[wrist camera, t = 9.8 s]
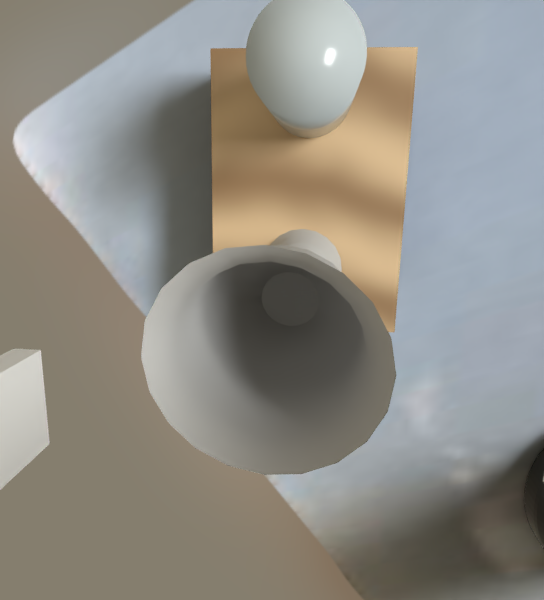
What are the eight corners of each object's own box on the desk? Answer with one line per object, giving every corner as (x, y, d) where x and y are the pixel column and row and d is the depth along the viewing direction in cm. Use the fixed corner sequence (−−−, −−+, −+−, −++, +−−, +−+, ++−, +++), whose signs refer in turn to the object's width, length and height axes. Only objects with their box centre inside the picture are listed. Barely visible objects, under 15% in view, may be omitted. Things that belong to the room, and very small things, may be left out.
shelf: (382, 309, 37) (394, 332, 32) (229, 302, 38) (213, 323, 33) (401, 70, 33) (417, 47, 28) (229, 71, 34) (210, 48, 29)
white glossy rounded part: (350, 138, 29) (363, 120, 20) (268, 137, 30) (245, 119, 21) (355, 47, 28) (370, -14, 19) (269, 48, 28) (245, -12, 20)
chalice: (232, 296, 32) (115, 422, 15) (265, 198, 30) (178, 206, 13) (336, 335, 32) (343, 510, 14) (375, 237, 30) (437, 300, 13)
